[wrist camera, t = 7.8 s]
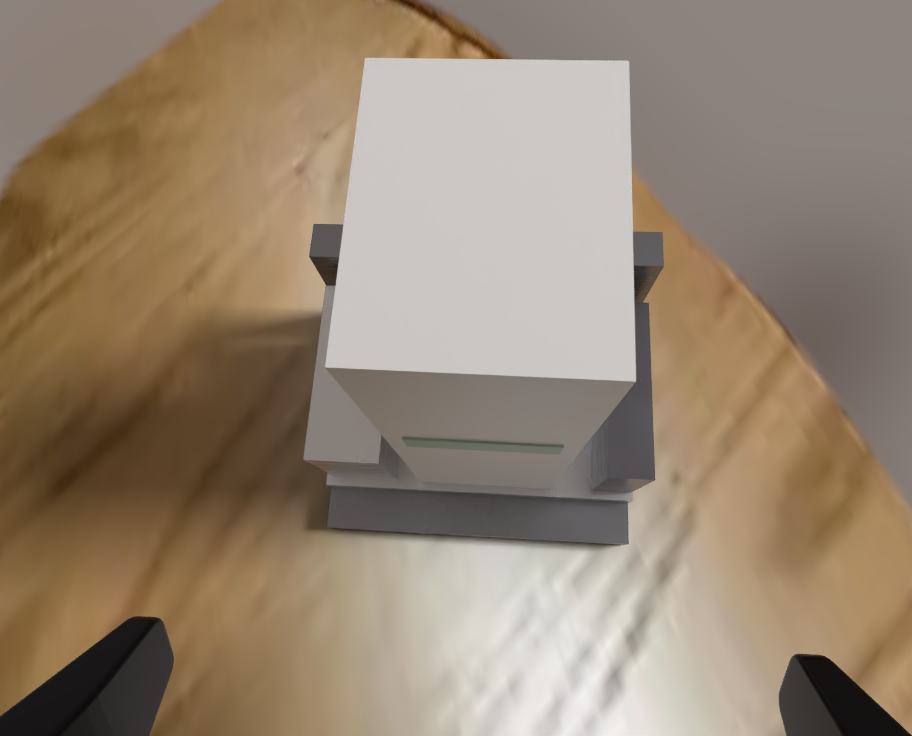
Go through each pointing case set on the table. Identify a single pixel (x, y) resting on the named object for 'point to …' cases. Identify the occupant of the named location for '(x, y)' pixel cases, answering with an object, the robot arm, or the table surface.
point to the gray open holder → (477, 506)
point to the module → (488, 263)
